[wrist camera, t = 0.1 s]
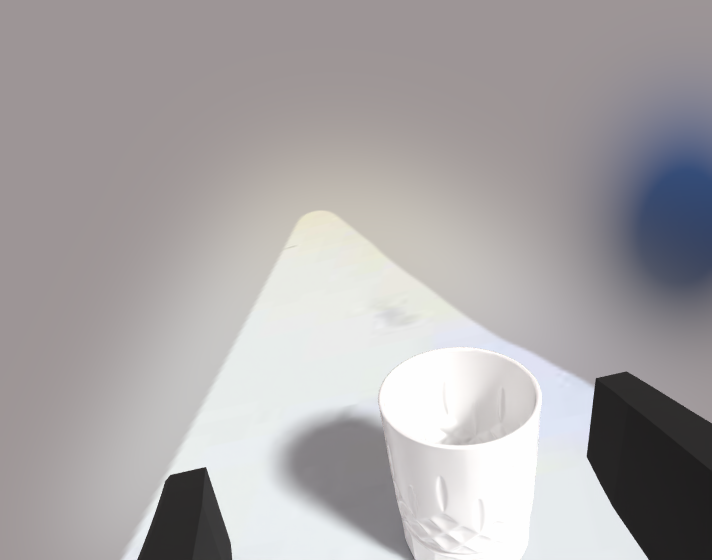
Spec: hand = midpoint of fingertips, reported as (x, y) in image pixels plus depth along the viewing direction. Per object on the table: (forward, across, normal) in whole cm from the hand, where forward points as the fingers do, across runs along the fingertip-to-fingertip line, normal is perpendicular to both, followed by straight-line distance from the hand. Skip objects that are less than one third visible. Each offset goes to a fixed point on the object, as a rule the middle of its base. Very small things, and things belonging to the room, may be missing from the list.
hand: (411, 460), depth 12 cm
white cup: (+14, -6, +23) cm, 28 cm away
